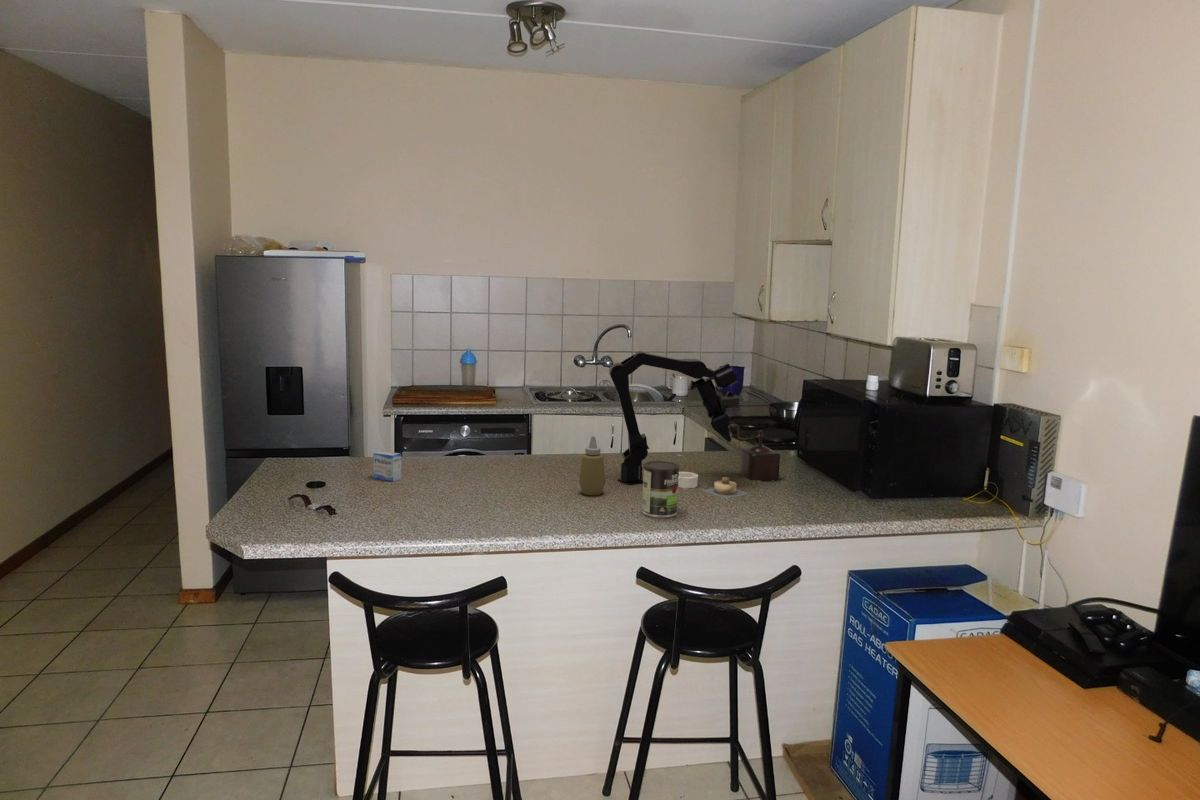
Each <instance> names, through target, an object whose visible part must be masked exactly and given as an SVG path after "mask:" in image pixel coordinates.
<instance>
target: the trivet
mask: <svg viewBox="0 0 1200 800" xmlns="http://www.w3.org/2000/svg"><path fill="white" fill-rule="evenodd" d="M699 491H701V492H702V493H706V494H709V495H711V496H715V497H718V498H721V499H723V500H727V499H732V498H737V497H740V496H745V495H751V492H747V491H743V490H741V489H737V488H736V494H733V495H721V494H717V493H715V492H714V487H710V488H706V489H705V488H704V489H700V490H699Z"/></svg>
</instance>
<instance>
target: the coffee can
mask: <svg viewBox="0 0 1200 800" xmlns="http://www.w3.org/2000/svg"><path fill="white" fill-rule="evenodd" d="M642 465H643V466H642V468H643V474H642V480H643V482H642V504H641V505H642V507H641V508H642V510H641V513H642V514H643V515H646V516H648V517H651V518H658V519H659V518H661V519H662V518H663V519H664V518H673V517H676V515H677V514H678V499H679V487H678V479H679V472H680V465H679V464H678V463H676V462H672V461H665V460H655V461H654V460H651V461H647V462H644V463H642Z"/></svg>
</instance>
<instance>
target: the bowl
mask: <svg viewBox="0 0 1200 800" xmlns="http://www.w3.org/2000/svg"><path fill="white" fill-rule="evenodd" d="M698 477H699V475H698V473H695V472H691V471H679V479H678V489H679V488H680V489H695V488H697V487H698V481H699V480H698V479H699V478H698Z"/></svg>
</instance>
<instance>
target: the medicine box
mask: <svg viewBox="0 0 1200 800" xmlns="http://www.w3.org/2000/svg"><path fill="white" fill-rule="evenodd" d="M372 466H373V479H374V480H377V481H379V480H380V481H387V482H396V481H399V480H401V479H402V453H401V452H393V451H387V450H386V451H385V450H384V451H383V450H379V451H375V452H373V465H372Z"/></svg>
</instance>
